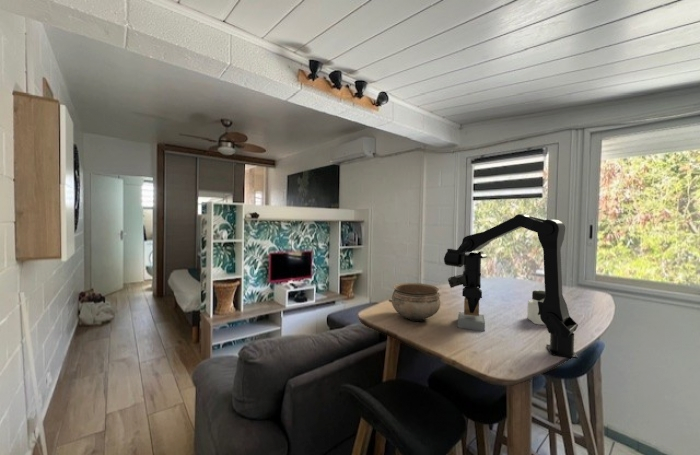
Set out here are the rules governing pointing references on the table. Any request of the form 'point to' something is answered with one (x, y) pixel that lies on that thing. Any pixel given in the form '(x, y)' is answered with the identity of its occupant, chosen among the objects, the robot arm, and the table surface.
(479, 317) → the grey-green flat square block
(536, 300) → the medicine bottle
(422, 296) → the cooking pot
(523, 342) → the table surface
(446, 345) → the table surface
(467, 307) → the walnut cube
